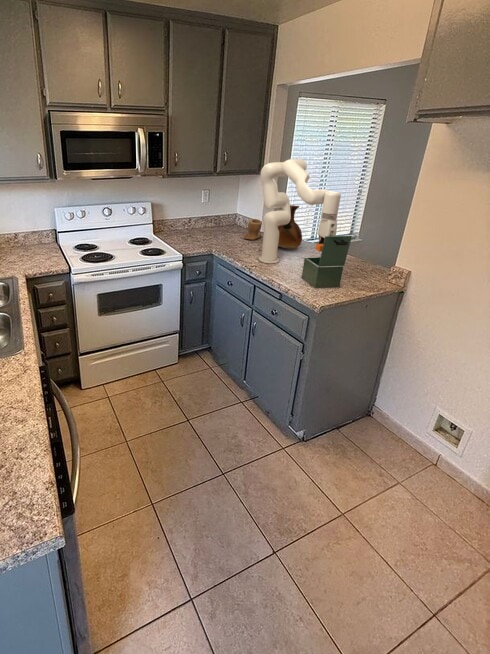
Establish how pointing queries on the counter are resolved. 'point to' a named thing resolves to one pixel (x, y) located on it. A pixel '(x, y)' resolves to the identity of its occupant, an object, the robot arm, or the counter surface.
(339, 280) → the green open box
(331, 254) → the hinged box lid
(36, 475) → the counter surface
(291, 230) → the ceramic pitcher
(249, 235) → the stone cup
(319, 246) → the block
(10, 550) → the counter surface
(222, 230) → the counter surface
